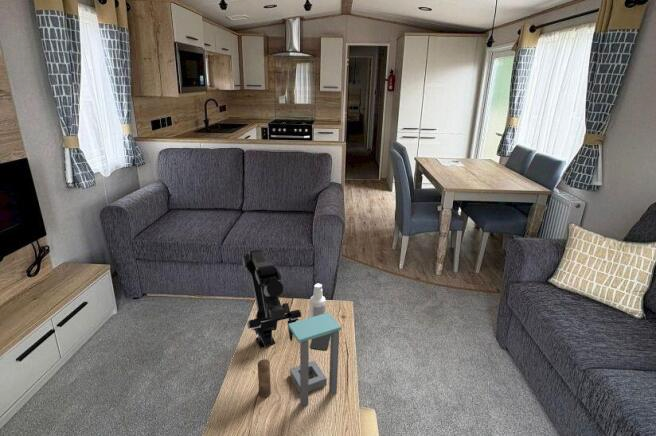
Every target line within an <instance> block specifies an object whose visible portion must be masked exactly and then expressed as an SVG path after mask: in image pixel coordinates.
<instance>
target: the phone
mask: <svg viewBox="0 0 656 436" xmlns="http://www.w3.org/2000/svg"><path fill="white" fill-rule="evenodd" d="M310 341H311V342H310V345H309V348H310V349H311V350H317V351H328V350H329V345H330V342H331V333H330V334H327V335H324V336H320V337H317V338H314V339H311V340H310Z"/></svg>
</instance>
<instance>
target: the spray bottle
mask: <svg viewBox="0 0 656 436" xmlns="http://www.w3.org/2000/svg"><path fill="white" fill-rule="evenodd" d="M312 294H313V295H312V296H310V299H309V318H311V317H314V316H318V315H321V314H325V313H326V301H327V300H326V297H325V296H323V295H324V294H323V284H321V283H319V282H318V283H316V284H314V286H313V293H312Z"/></svg>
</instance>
